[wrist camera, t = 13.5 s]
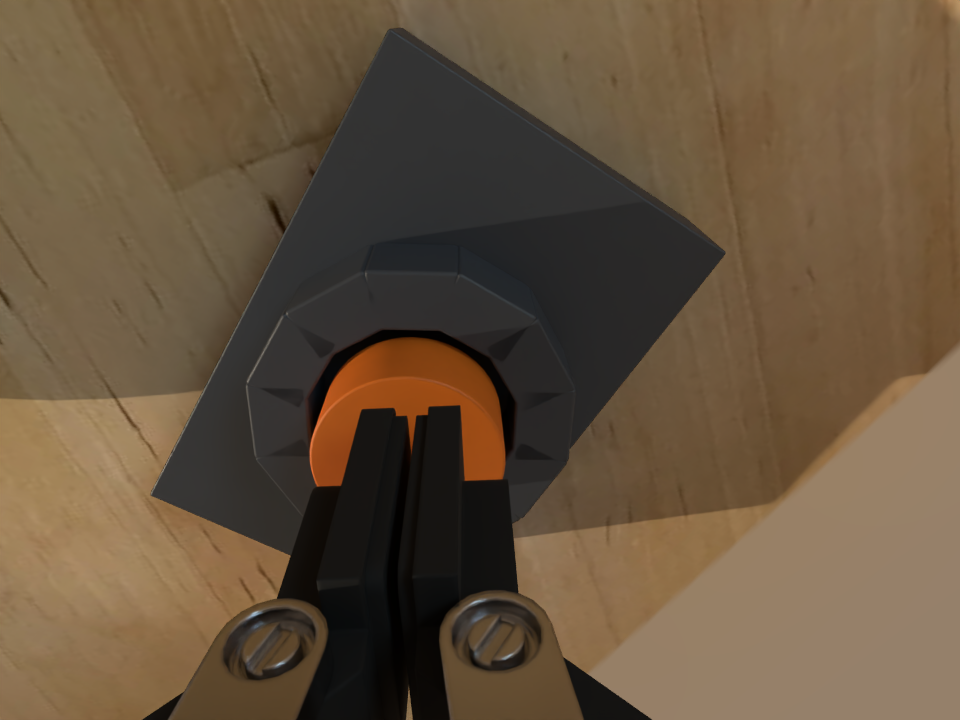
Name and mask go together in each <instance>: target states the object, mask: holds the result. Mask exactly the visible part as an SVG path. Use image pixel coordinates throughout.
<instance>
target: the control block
mask: <svg viewBox="0 0 960 720" xmlns="http://www.w3.org/2000/svg"><path fill="white" fill-rule="evenodd" d="M724 255H725V251H724V250H723V249H721V248H720V247H719V246H718V245H717V244H716V243H714V242H713V241H712V240H711V239H710V238H709V237H708V236H706V235H705V234H704V233H703V232H702V231H701V230H699V229H698V228H697V227H696V226H695V225H694V224H692V223H691V222H690V221H689V220H688V219H686V218H685V217H683V216H682V215H680V214H679V213H677V212H676V211H674V210H673V209H671V208H670V207H668V206H667V205H665V204H664V203H662V202H661V201H659V200H658V199H656V198H655V197H653V196H652V195H650V194H649V193H648V192H646V191H645V190H643V189H642V188H640V187H639V186H637V185H636V184H634V183H633V182H631V181H630V180H628V179H627V178H625V177H624V176H622V175H621V174H619V173H618V172H616V171H615V170H613V169H612V168H610V167H609V166H607V165H606V164H604V163H603V162H601V161H600V160H598V159H597V158H595V157H594V156H592V155H591V154H589V153H588V152H586V151H585V150H583V149H582V148H580V147H579V146H577V145H576V144H574V143H573V142H571V141H570V140H568V139H567V138H565V137H564V136H563V135H561V134H560V133H558V132H557V131H555V130H554V129H552V128H551V127H549V126H548V125H546V124H545V123H543V122H542V121H540V120H539V119H537V118H536V117H534V116H533V115H531V114H530V113H528V112H527V111H525V110H524V109H522V108H521V107H519V106H518V105H516V104H515V103H513V102H512V101H510V100H509V99H507V98H506V97H504V96H503V95H501V94H500V93H498V92H497V91H495V90H494V89H492V88H491V87H489V86H488V85H486V84H485V83H483V82H482V81H480V80H479V79H478V78H476V77H475V76H473V75H472V74H470V73H469V72H467V71H466V70H464V69H463V68H461V67H460V66H458V65H457V64H455V63H454V62H452V61H451V60H449V59H448V58H446V57H445V56H443V55H442V54H440V53H439V52H437V51H436V50H434V49H433V48H431V47H430V46H428V45H427V44H425V43H424V42H422V41H421V40H419V39H418V38H416V37H415V36H413V35H412V34H410V33H409V32H407V31H406V30H404V29H403V28H394V29H389V30H388V31H387V33H386V35H385V37H384V39H383V41H382V43H381V45H380V47H379V49H378V51H377V53H376V55H375V57H374V59H373V61H372V63H371V64H370V66H369V68H368V70H367V72H366V74H365V76H364V78H363V80H362V82H361V84H360V86H359V88H358V90H357V92H356V94H355V96H354V98H353V100H352V102H351V103H350V105H349V107H348V109H347V111H346V113H345V115H344V117H343V119H342V121H341V123H340V125H339V127H338V129H337V131H336V133H335V135H334V137H333V139H332V141H331V142H330V144H329V146H328V148H327V150H326V152H325V154H324V156H323V158H322V160H321V162H320V164H319V166H318V168H317V170H316V172H315V174H314V176H313V178H312V179H311V181H310V183H309V185H308V187H307V189H306V191H305V193H304V195H303V197H302V199H301V201H300V203H299V205H298V207H297V209H296V211H295V213H294V215H293V217H292V218H291V220H290V222H289V224H288V226H287V228H286V230H285V232H284V234H283V236H282V238H281V240H280V242H279V244H278V246H277V248H276V250H275V252H274V254H273V255H272V257H271V259H270V261H269V263H268V265H267V267H266V269H265V271H264V273H263V275H262V277H261V279H260V281H259V283H258V285H257V287H256V289H255V291H254V293H253V294H252V296H251V298H250V300H249V302H248V304H247V306H246V308H245V310H244V312H243V314H242V316H241V318H240V320H239V322H238V324H237V326H236V328H235V330H234V332H233V333H232V335H231V337H230V339H229V341H228V343H227V345H226V347H225V349H224V351H223V353H222V355H221V357H220V359H219V361H218V363H217V365H216V367H215V369H214V370H213V372H212V374H211V376H210V378H209V380H208V382H207V384H206V386H205V388H204V390H203V392H202V394H201V396H200V398H199V400H198V402H197V404H196V406H195V408H194V409H193V411H192V413H191V415H190V417H189V419H188V421H187V423H186V425H185V427H184V429H183V431H182V433H181V435H180V437H179V439H178V441H177V443H176V445H175V447H174V448H173V450H172V452H171V454H170V456H169V458H168V460H167V462H166V464H165V466H164V468H163V470H162V472H161V474H160V476H159V478H158V480H157V482H156V484H155V485H154V487H153V489H152V491H151V496H153V497H156V498H158V499H160V500H163V501H165V502H167V503H170V504H172V505H174V506H177V507H179V508H181V509H184V510H186V511H188V512H191V513H193V514H195V515H197V516H200V517H202V518H204V519H207V520H209V521H211V522H214V523H216V524H218V525H221V526H223V527H225V528H228V529H230V530H232V531H235V532H237V533H239V534H242V535H244V536H246V537H249V538H251V539H253V540H256V541H258V542H260V543H263V544H265V545H267V546H270V547H272V548H274V549H277V550H279V551H281V552H284V553H286V554H288V555H291V554H292V551H293V548H294V544H295V541H296V538H297V535H298V532H299V529H300V526H301V523H302V520H303V517H304V514H305V510H306V507H307V504H308V501H309V498H310V495H311V493H312V490H313V489H314V488H315V487H317V485H316V483H315V480H314V477H313V474H312V471H311V465H310V445H311V439H312V436H313V433H314V430H315V427H316V424H317V421H318V418H319V415H320V413H321V410H322V407H323V404H324V401H325V398H326V396H327V393H328V390H329V387H330V385H331V383H332V381H333V379H334V377H335V375H336V374H337V372H338V371H339V370H340V368H341V367H342V366H343V365H344V364H345V363H346V362H347V361H348V360H349V359H350V358H351V357H353V356H354V355H355V354H356V353H358V352H360V351H361V350H363V349H365V348H366V347H368V346H371V345H373V344H375V343H378V342H381V341H385V340H388V339H394V338H400V337H420V338H428V339H433V340H437V341H440V342H443V343H446V344H449V345H451V346H453V347H455V348H457V349H459V350H461V351H463V352H464V353H466V354H467V355H469V356H470V357H471V358H472V359H474V360H475V361H476V362H477V363H478V364H479V365H480V366H481V367H482V368H483V369H484V370H485V372H486V373H487V375H488V376H489V378H490V379H491V381H492V383H493V385H494V387H495V389H496V392H497V395H498V398H499V403H500V409H501V418H502V427H503V436H504V445H505V462H506V464H505V471H504V476H503V479H508V484H509V495H510V506H511V517H512V523H514V522H516V521H518V520H519V519H520V518H523V517H524V516H525V515H526V514H527V512H528V511H529V510H530V509H531V507H532V506H533V505H534V504H535V502H536V501H537V500H538V499H539V498H540V496H541V495H542V494H543V493H544V491H545V490H546V489H547V488H548V486H549V485H550V484H551V483H552V481H553V480H554V479H555V478H556V476H557V475H558V474H559V473H560V471H561V470H562V469H563V468H564V466H565V465H566V463H567V461H568V459H569V450H570V448H571V447H572V446H573V445H574V443H575V442H576V441H577V439H578V438H579V437H580V436H581V434H582V433H583V432H584V431H585V429H586V428H587V427H588V426H589V424H590V423H591V422H592V421H593V419H594V418H595V417H596V416H597V414H598V413H599V412H600V411H601V409H602V408H603V407H604V406H605V404H606V403H607V402H608V401H609V399H610V398H611V397H612V396H613V394H614V393H615V392H616V391H617V389H618V388H619V387H620V386H621V384H622V383H623V382H624V381H625V379H626V378H627V377H628V376H629V374H630V373H631V372H632V371H633V369H634V368H635V367H636V366H637V364H638V363H639V362H640V361H641V359H642V358H643V357H644V356H645V354H646V353H647V352H648V351H649V349H650V348H651V347H652V345H653V344H654V343H655V342H656V340H657V339H658V338H659V337H660V335H661V334H662V333H663V332H664V330H665V329H666V328H667V327H668V325H669V324H670V323H671V322H672V320H673V319H674V318H675V317H676V315H677V314H678V313H679V312H680V310H681V309H682V308H683V307H684V305H685V304H686V303H687V302H688V300H689V299H690V298H691V297H692V295H693V294H694V293H695V292H696V290H697V289H698V288H699V287H700V285H701V284H702V283H703V282H704V280H705V279H706V278H707V277H708V275H709V274H710V273H711V272H712V270H713V269H714V268H715V267H716V265H717V264H718V263H719V262H720V260H721V259H722V258H723V257H724Z"/></svg>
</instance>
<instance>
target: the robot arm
mask: <svg viewBox="0 0 960 720" xmlns="http://www.w3.org/2000/svg"><path fill="white" fill-rule="evenodd" d="M408 689H409V690H410V698H411V707H412V715H413V720H652V719H650V718H649V717H648V716H646V715H645V714H643V713H642V712H640V711H639V710H638V709H636V708H635V707H633V706H632V705H631V704H629V703H627V702H626V701H625V700H623V699H622V698H620V697H619V696H618V695H616V694H615V693H613V692H612V691H611V690H609V689H608V688H606V687H605V686H604V685H602V684H601V683H599V682H598V681H596V680H595V679H594V678H592V677H591V676H589V675H588V674H587V673H585V672H584V671H582V670H581V669H579V668H578V667H577V666H575V665H574V664H572V663H571V662H569V661H568V660H567V659H565V658H564V657H563V655H562V652H561V649H560V646H559V643H558V640H557V637H556V634H555V631H554V628H553V625H552V623H551V621H550V619H549V617H548V616H547V614H546V612H545V610H543V609H542V608H541V607H540V606H539V605H538V604H537V603H536V602H535V601H534V600H532V599H530V598H527V597H525V596H523V595H521V594H519V593H518V584H517V572H516V561H515V550H514V539H513V528H512V517H511V506H510V495H509V484H508V479H496V480H471V481H465V476H464V457H463V439H462V421H461V406H460V405H452V406H429V408H428V415H417V416H416V422H415V430H414V438H413V446H412V454H411V445H410V435H409V424H408V418H407V416H396V411H395V408H375V409H362V410H361V412H360V416H359V420H358V424H357V428H356V431H355V435H354V439H353V443H352V446H351V450H350V454H349V458H348V462H347V465H346V469H345V473H344V477H343V480H342V484H341V486H317V487H315V488H314V489H313V490H312V493H311V495H310V498H309V501H308V504H307V507H306V510H305V514H304V517H303V520H302V523H301V526H300V529H299V532H298V535H297V538H296V541H295V544H294V548H293V551H292V554H291V557H290V560H289V563H288V566H287V569H286V572H285V575H284V578H283V582H282V585H281V588H280V591H279V594H278V597H277V599H273V600H269V601H266V602H262V603H258V604H256V605H254V606H252V607H250V608H248V609H246V610H244V611H242V612H240V613H239V614H238V615H237V616H235V617H234V618H233V619H231V620H230V621H229V622H228V623H227V624H226V625H225V626H224V627H223V629H222V630H221V631H220V633H219V634H218V635H217V636H216V638H215V640H214V641H213V643H212V645H211V646H210V648H209V650H208V652H207V653H206V655H205V657H204V658H203V660H202V662H201V664H200V665H199V667H198V669H197V670H196V672H195V674H194V676H193V677H192V679H191V681H190V682H189V684H188V686H187V688H186V689H185V691H184V692H183V693H181V694H180V695H178V696H177V697H175V698H174V699H172V700H171V701H169V702H168V703H166V704H165V705H163V706H162V707H160V708H159V709H158V710H156V711H155V712H153V713H152V714H150V715H149V716H147V717H146V718H144V719H143V720H406V712H407V700H408Z"/></svg>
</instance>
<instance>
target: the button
mask: <svg viewBox="0 0 960 720" xmlns="http://www.w3.org/2000/svg"><path fill="white" fill-rule="evenodd" d="M452 405H460V406H461V421H462V439H463V457H464V476H465V481H471V480H496V479H503V476H504V471H505V464H506V462H505V445H504V436H503V427H502V418H501V409H500V403H499V398H498V395H497V392H496V389H495V387H494V385H493V383H492V381H491V379H490V378H489V376H488V375H487V373H486V372H485V370H484V369H483V368H482V367H481V366H480V365H479V364H478V363H477V362H476V361H475V360H474V359H472V358H471V357H470V356H469V355H467V354H466V353H464V352H463V351H461V350H459V349H457V348H455V347H453V346H451V345H449V344H446V343H443V342H440V341H437V340H433V339H428V338H420V337H400V338H394V339H388V340H385V341H381V342H378V343H375V344H373V345H371V346H368V347H366V348H365V349H363V350H361V351H360V352H358V353H356V354H355V355H354V356H353V357H351V358H350V359H349V360H348V361H347V362H346V363H345V364H344V365H343V366H342V367H341V368H340V370H339V371H338V372H337V374H336V375H335V377H334V379H333V381H332V383H331V385H330V387H329V390H328V393H327V396H326V398H325V401H324V404H323V407H322V410H321V413H320V415H319V418H318V421H317V424H316V427H315V430H314V433H313V436H312V439H311V445H310V465H311V471H312V474H313V477H314V480H315V483H316V485H317V486H341V484H342V480H343V477H344V473H345V469H346V465H347V462H348V458H349V454H350V450H351V446H352V443H353V439H354V435H355V431H356V428H357V424H358V420H359V416H360V412H361V410H362V409H375V408H395V411H396V416H407V418H408V424H409V435H410V445H411V454H412V446H413V438H414V430H415V422H416V416H417V415H428V408H429V406H452Z"/></svg>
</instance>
